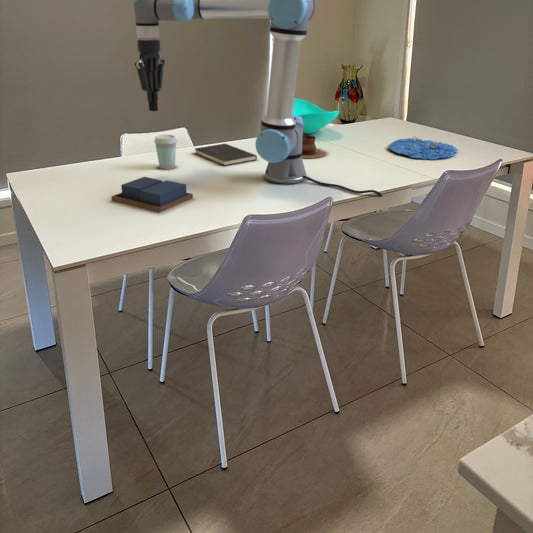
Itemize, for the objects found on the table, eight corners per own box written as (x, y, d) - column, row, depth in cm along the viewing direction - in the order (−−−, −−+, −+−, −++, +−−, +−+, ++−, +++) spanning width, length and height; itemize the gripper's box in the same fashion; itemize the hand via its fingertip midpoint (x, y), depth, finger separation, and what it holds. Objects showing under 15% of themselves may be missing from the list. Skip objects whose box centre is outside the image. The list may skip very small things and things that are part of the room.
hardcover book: (223, 166, 232) (223, 160, 231) (194, 153, 249) (194, 148, 248) (256, 160, 241) (256, 154, 240) (226, 148, 257) (226, 143, 256)
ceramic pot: (294, 146, 262) (295, 130, 259) (332, 151, 255) (333, 134, 252) (278, 155, 248) (278, 138, 244) (317, 160, 241) (318, 143, 238)
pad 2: (187, 198, 195) (186, 184, 193) (160, 210, 185) (159, 195, 183) (167, 194, 199) (166, 180, 197) (140, 205, 189) (139, 190, 187)
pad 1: (163, 194, 199) (162, 180, 197) (140, 203, 190) (139, 189, 188) (145, 190, 202) (144, 176, 200) (122, 199, 194) (121, 184, 192)
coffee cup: (174, 171, 226) (172, 139, 221) (152, 169, 227) (150, 138, 222) (181, 165, 233) (179, 134, 228) (160, 163, 235) (158, 133, 230)
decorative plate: (471, 160, 248) (474, 148, 245) (406, 163, 241) (408, 151, 238) (437, 141, 273) (439, 130, 270) (377, 143, 266) (379, 132, 264)
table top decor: (352, 138, 277) (354, 109, 271) (302, 144, 265) (303, 114, 259) (306, 122, 308) (307, 96, 303) (260, 127, 296) (260, 100, 290)
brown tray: (193, 199, 196) (192, 193, 195) (159, 214, 183) (159, 208, 182) (146, 188, 206) (146, 183, 205) (112, 202, 193) (111, 196, 192)
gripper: (153, 37, 204) (157, 106, 215) (126, 39, 194) (132, 112, 205) (169, 38, 201) (173, 108, 211) (143, 41, 191) (149, 114, 201)
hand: (153, 110), depth 208 cm, fingers closed
